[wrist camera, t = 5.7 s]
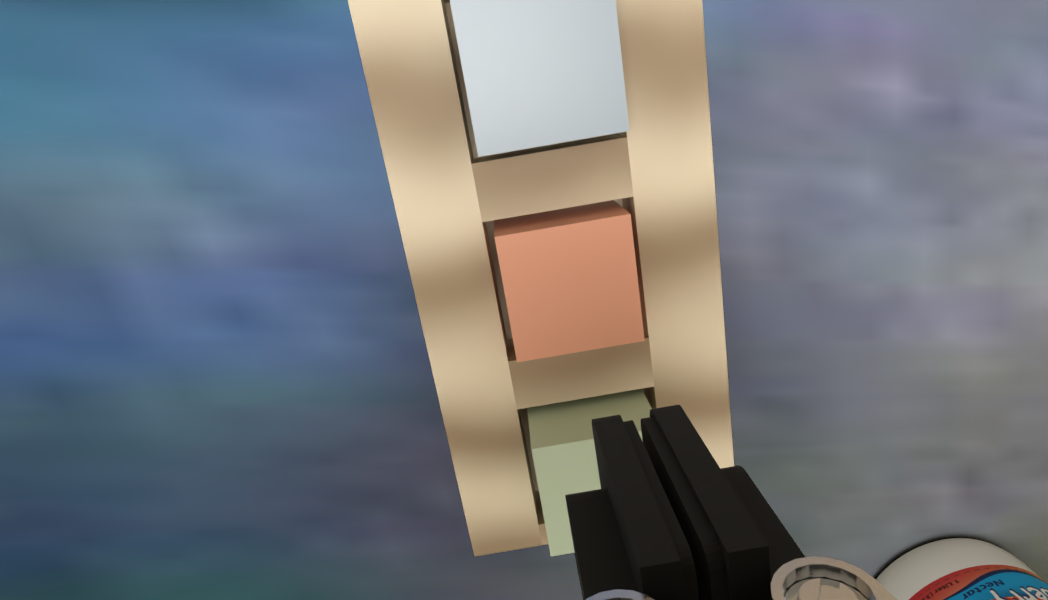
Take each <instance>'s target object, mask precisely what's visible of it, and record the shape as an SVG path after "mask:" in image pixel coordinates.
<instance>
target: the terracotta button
mask: <svg viewBox="0 0 1048 600" xmlns="http://www.w3.org/2000/svg"><path fill="white" fill-rule="evenodd" d="M494 238H495V243H496V249H497V254H498V260H499V265H500V271H501V276H502V282H503V287H504V293H505V298H506V304H507V309H508V315H509V320H510V326H511V332H512V337H513V343H514V348H515V354H516V359H517V362H523V361H529V360H535V359H541V358H547V357H553V356H559V355H565V354H570V353H576V352H582V351H588V350H594V349H600V348H606V347H612V346H618V345H624V344H630V343H636V342H642V341H645V339H644V330H643V321H642V312H641V303H640V294H639V285H638V276H637V267H636V258H635V249H634V240H633V231H632V222H631V214H630V213H629V212H628V211H626V210H625V209H624V208H623V207H621V206H620V205H619V204H618V203H617V202H615V201H614V200H610V201H604V202H599V203H593V204H587V205H581V206H575V207H569V208H563V209H557V210H552V211H546V212H540V213H534V214H528V215H522V216H516V217H510V218H505V219H499V220H494Z"/></svg>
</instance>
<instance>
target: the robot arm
mask: <svg viewBox="0 0 1048 600" xmlns="http://www.w3.org/2000/svg"><path fill="white" fill-rule="evenodd" d="M592 430H593V437H594V444H595V451H596V458H597V465H598V471H599V478H600V485H601V489H598V490H592V491H586V492H580V493H574V494H568V495H565V498H566V504H567V510H568V516H569V522H570V528H571V534H572V540H573V546H574V552H575V557H576V563H577V569H578V574H579V580H580V585H581V590H582V596H583V600H897V599H896V598H895V597H894V596H893V595H891V594H890V593H889V592H888V591H887V590H886V589H885V588H884V587H883V586H882V585H881V584H880V583H879V582H878V581H877V580H876V579H874V578H873V577H872V576H870V575H869V574H868V573H866V572H865V571H864V570H862V569H860V568H858V567H856V566H854V565H852V564H849V563H847V562H845V561H841V560H837V559H833V558H829V557H813V556H810V557H805V556H804V555H803V553H802V552H801V550H800V549H799V547H798V546H797V545H796V543H795V542H794V540H793V539H792V537H791V536H790V534H789V533H788V532H787V530H786V529H785V527H784V526H783V524H782V523H781V522H780V520H779V519H778V517H777V516H776V514H775V513H774V511H773V510H772V509H771V507H770V506H769V504H768V503H767V501H766V500H765V498H764V497H763V496H762V494H761V493H760V491H759V490H758V488H757V487H756V485H755V484H754V483H753V481H752V480H751V478H750V477H749V475H748V474H747V472H746V471H745V470H744V469H743V468H742V467H741V466H733V467H727V468H721V469H720V467H719V466H718V464H717V462H716V461H715V459H714V458H713V456H712V455H711V453H710V451H709V450H708V448H707V447H706V445H705V443H704V442H703V440H702V439H701V437H700V435H699V434H698V432H697V431H696V429H695V427H694V426H693V424H692V423H691V421H690V420H689V418H688V416H687V415H686V413H685V412H684V410H683V408H682V407H681V406H680V405H673V406H667V407H661V408H655V409H650V417H648V418H642V419H641V432H642V439H641V437H640V435H639V433H638V431H637V428H636V426H635V424H634V422H633V420H630V421H624V422H623V420H622V417H621V415H614V416H608V417H602V418H596V419H592ZM642 441H643V442H642Z"/></svg>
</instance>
